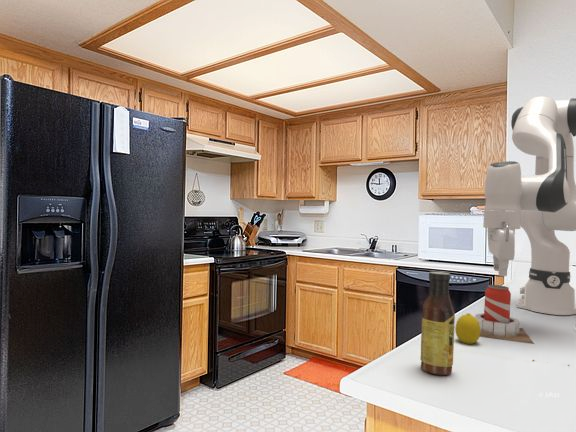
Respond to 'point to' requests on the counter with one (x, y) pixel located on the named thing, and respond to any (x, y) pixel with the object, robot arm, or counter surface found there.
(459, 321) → the lemon
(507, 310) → the beverage can
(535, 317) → the counter surface
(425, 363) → the sauce bottle
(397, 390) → the counter surface
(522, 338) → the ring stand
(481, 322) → the white segmented ring
